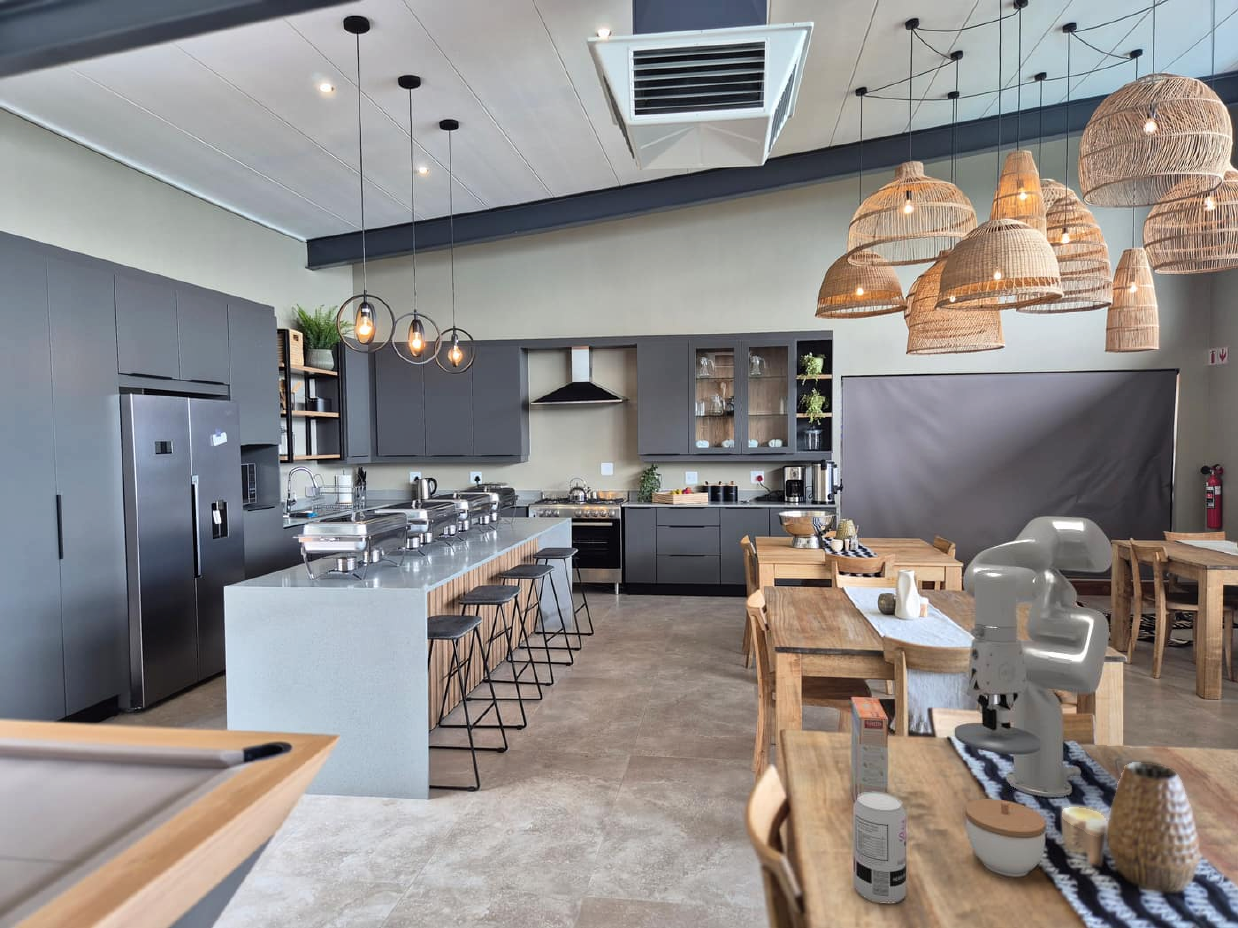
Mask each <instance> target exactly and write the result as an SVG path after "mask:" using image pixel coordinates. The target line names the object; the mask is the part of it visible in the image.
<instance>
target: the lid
mask: <svg viewBox="0 0 1238 928" xmlns="http://www.w3.org/2000/svg"><path fill="white" fill-rule="evenodd" d="M996 704H997V703H994V708H993V709H995V710H996V720H997V729H996V730H991V729H989V728H987V727H984V726H983V725H982V722H968V723H963V724H959V725H957V726H956V727H955V728H954V737H955V739H956V740H957V741H958V742H959V743H961V744H964V745H965V746H969V747H970V748H974V749H977V750H979V751H980V750H981V751H984V752H989V753H995V754H1001V755H1002V754H1003V755H1013V756H1014V755H1020V754H1030V753H1034V752H1037V751H1038V750H1039V749H1040V740H1039V738H1038V737H1036V736H1035V735H1033V734H1031V733H1029V732H1027V731H1024V730H1021V729H1018V728H1014V726H1011V728H1010V729H1006V728H1004V727H1002V723H1009V722H1011V723H1014V711H1013V710H1011V709H1010V710H1009V709H1006V708H1004V707H1001V706H999V705H996ZM978 706H979V709H978V710H979V711H978V712H979V714H980V715H982V706H980V705H979V704H978Z"/></svg>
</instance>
